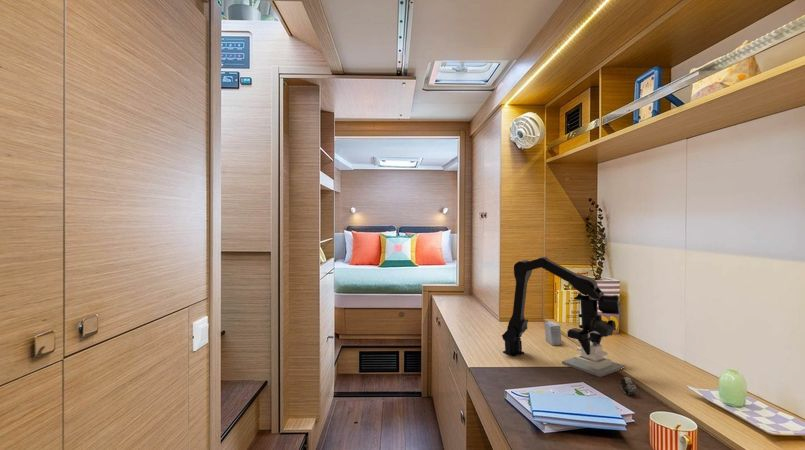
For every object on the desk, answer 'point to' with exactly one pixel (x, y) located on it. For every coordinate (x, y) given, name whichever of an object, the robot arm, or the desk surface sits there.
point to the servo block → (593, 352)
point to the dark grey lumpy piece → (631, 387)
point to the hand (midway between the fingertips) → (591, 353)
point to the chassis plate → (593, 365)
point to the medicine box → (553, 333)
